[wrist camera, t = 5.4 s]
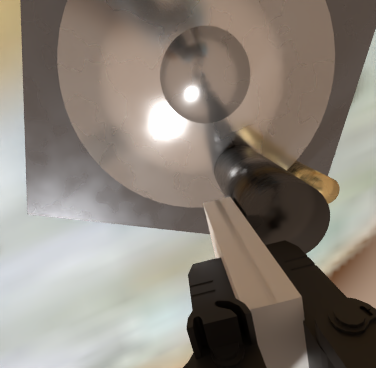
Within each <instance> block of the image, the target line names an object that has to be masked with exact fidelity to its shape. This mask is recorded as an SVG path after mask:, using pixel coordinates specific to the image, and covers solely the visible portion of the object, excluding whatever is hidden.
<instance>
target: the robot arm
mask: <svg viewBox="0 0 376 368" xmlns="http://www.w3.org/2000/svg"><path fill="white" fill-rule="evenodd" d="M203 205H204V210H205V214H206V218H207V223H208V227H209V231H210V235H211V240H212V244H213V248H214V253H215V256H216V259H212V260H208V261H204V262H200V263H196V264H193V265H192V267H191V270H190V272H189V274H188V278H189V286H190V294H191V301H192V309H193V311H192V313H191V314H190V316H189V317H188V322H187V332H188V335H189V338H190V342H191V345H192V348H193V352H194V353H193V355H192V357H191V358H190V360H189V361H188V363H187V364H186V365H185V366H184V367H183V368H376V309H375V308H373V307H372V306H371V305H369V304H367V303H365V302H362V301H360V300H357V299H353V298H347V297H346V296H345V295H344V294H343V293H342V292H341V291H340V290H339V289H338V288H337V287H336V286H335V285H334V283H333V282H332V281H331V280H330V279H329V278H328V277H327V276H326V275H325V274H324V273H323V272H322V271H321V270H320V269H319V268H318V267H317V266H315V264H314V262H313V261H312V260H311V259H310V258H309V257H307V255H306V254H305V253H304V252H303V251H302V250H301V249H300V248H299V247H298V246H297V245H294V244H292V243H290V242H288V241H286V240H284V241H280V242H276V243H272V244H268V245H264V243H263V242H262V240H261V239H260V238H259V236H258V235H257V233H256V232H255V231H254V229H253V228H252V226H251V225H250V224H249V222H248V221H247V219H246V218H245V217H244V215H243V214H242V212H241V211H240V210H239V208H238V207H237V206H236V204H235V203H234V201H233V200H232V199H231V197H227V198H223V199H218V200H214V201H210V202H206V203H203Z"/></svg>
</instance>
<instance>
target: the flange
mask: <svg viewBox="0 0 376 368" xmlns="http://www.w3.org/2000/svg"><path fill="white" fill-rule="evenodd" d="M334 66H335V44H334V33H333V27H332V22H331V17H330V13H329V10H328V7H327V4H326V0H67V3H66V5H65V9H64V13H63V17H62V20H61V24H60V30H59V38H58V47H57V67H58V76H59V84H60V90H61V94H62V97H63V101H64V105H65V108H66V111H67V114H68V116H69V119H70V121H71V124H72V126H73V128H74V130H75V132H76V133H77V135H78V137H79V139H80V141H81V142H82V144H83V145H84V147H85V148H86V150H87V151H88V152H89V154H90V155H91V156H92V158H93V159H94V160H95V161H96V162H97V163H98V164H99V165H100V166H101V168H102V169H103V170H105V171H106V172H107V173H108V174H109V175H110V176H111V177H113V178H114V179H115V180H116V181H118V182H119V183H121V184H122V185H124V186H125V187H126V188H128V189H130V190H131V191H133V192H135V193H137V194H139V195H141V196H143V197H146V198H148V199H151V200H154V201H157V202H160V203H164V204H168V205H172V206H180V207H204V205H203V203H206V202H210V201H214V200H218V199H223V198H227V197H231V199H232V200H233V201H234V203H235V204H236V206H237V207H238V208H239V210H240V211H241V212H242V214H243V215H244V217H245V218H246V219H247V221H248V222H249V224H250V225H251V226H252V228H253V229H254V231H255V232H256V233H257V235H258V236H259V238H260V239H261V240H262V242H263V243H264V245H268V244H272V243H276V242H280V241H284V240H286V241H288V242H290V243H292V244H294V245H297V246H298V247H299V248H300V249H301V250H302V251H303V252H304V253H305V254H306V253H308V252H309V251H311V250H312V249H313V248H314V247H316V246H317V245H318V244H319V242H320V241H321V240H322V238H323V237H324V235H325V233H326V231H327V229H328V226H329V221H330V210H329V206H328V203H327V201H326V199H325V198H324V196H323V195H322V194H321V193H320V192H319V191H318V190H317V189H315V188H314V187H312V186H310V185H309V184H307V183H306V182H304V181H303V180H301V179H299V178H298V177H296V176H295V175H293V174H291V173H290V172H288V171H287V170H288V169H289V168H290V167H291V165H292V164H293V163H294V162H295V161H296V160H297V159H298V158H299V157H300V155H301V154H302V153H303V151H304V150H305V148H306V147H307V146H308V144H309V143H310V141H311V140H312V138H313V136H314V134H315V132H316V131H317V129H318V127H319V125H320V123H321V120H322V118H323V115H324V113H325V111H326V107H327V104H328V101H329V97H330V94H331V89H332V83H333V77H334Z"/></svg>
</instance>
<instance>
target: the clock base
mask: <svg viewBox="0 0 376 368" xmlns="http://www.w3.org/2000/svg"><path fill="white" fill-rule="evenodd" d="M66 3H67V0H21V31H22V62H23V93H24V123H25V154H26V185H27V214H30V215H39V216H48V217H57V218H67V219H76V220H85V221H94V222H103V223H112V224H122V225H131V226H140V227H149V228H158V229H167V230H176V231H186V232H195V233H204V234H210V231H209V227H208V223H207V218H206V214H205V210H204V207H180V206H172V205H168V204H164V203H160V202H157V201H154V200H151V199H148V198H146V197H143V196H141V195H139V194H137V193H135V192H133V191H131V190H130V189H128V188H126V187H125V186H124V185H122V184H121V183H119V182H118V181H116V180H115V179H114V178H113V177H111V176H110V175H109V174H108V173H107V172H106V171H105V170H103V169H102V168H101V166H100V165H99V164H98V163H97V162H96V161H95V160H94V159H93V158H92V156H91V155H90V154H89V152H88V151H87V150H86V148H85V147H84V145H83V144H82V142H81V141H80V139H79V137H78V135H77V133H76V132H75V130H74V128H73V126H72V124H71V121H70V119H69V116H68V114H67V111H66V108H65V105H64V101H63V97H62V94H61V90H60V84H59V76H58V67H57V47H58V38H59V30H60V24H61V20H62V17H63V13H64V9H65V5H66ZM326 4H327V7H328V10H329V13H330V17H331V22H332V27H333V33H334V44H335V66H334V77H333V83H332V89H331V94H330V97H329V101H328V104H327V107H326V111H325V113H324V115H323V118H322V120H321V123H320V125H319V127H318V129H317V131H316V132H315V134H314V136H313V138H312V140H311V141H310V143H309V144H308V146H307V147H306V148H305V150H304V151H303V153H302V154H301V155H300V157H299V158H298V159H297V160H296V161H295V162H294V163H293V164H292V165H291V167H290V168H289V169H288V170H287V171H288V172H290V173H291V174H293V175H295V176H296V177H298V178H299V179H301V180H303V181H304V182H306V183H307V184H309V185H310V186H312V187H314V188H315V189H317V190H318V191H319V192H320V193H321V194H322V195H323V196H324V198H325V199H326V201H327V203H328V204H329V203H331V202H332V201H334V200H335V199H336V197H337V196H338V194H339V184H338V183H337V181H335V180H334V179H332V178H330V177H328V173H329V170H330V167H331V164H332V161H333V158H334V155H335V152H336V149H337V145H338V142H339V139H340V136H341V133H342V130H343V127H344V124H345V121H346V118H347V115H348V112H349V109H350V105H351V102H352V99H353V96H354V93H355V90H356V87H357V84H358V81H359V78H360V75H361V72H362V69H363V65H364V62H365V59H366V56H367V53H368V50H369V47H370V44H371V41H372V38H373V35H374V32H375V29H376V0H326Z"/></svg>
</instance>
